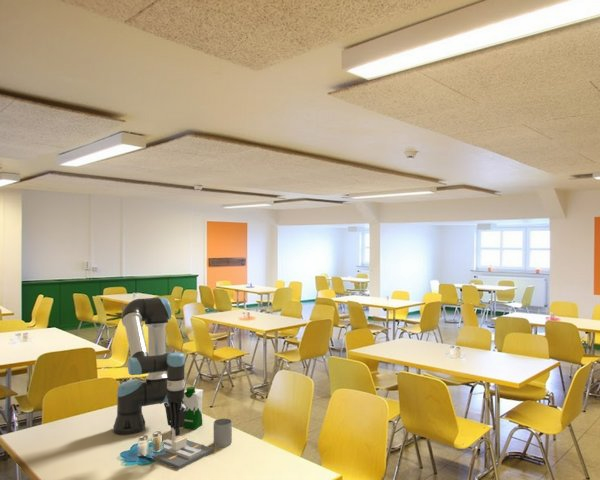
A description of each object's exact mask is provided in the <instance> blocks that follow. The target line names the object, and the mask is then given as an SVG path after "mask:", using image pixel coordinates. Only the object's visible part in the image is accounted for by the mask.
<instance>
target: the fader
mask: <svg viewBox="0 0 600 480" xmlns="http://www.w3.org/2000/svg"><path fill="white" fill-rule="evenodd" d="M187 440H188V438H187V437H186V436H184V435H183V436H179V438H177V439H175V440H172V449H173V450H178V449H180V450H182V448H183V447H185V446H187Z"/></svg>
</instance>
